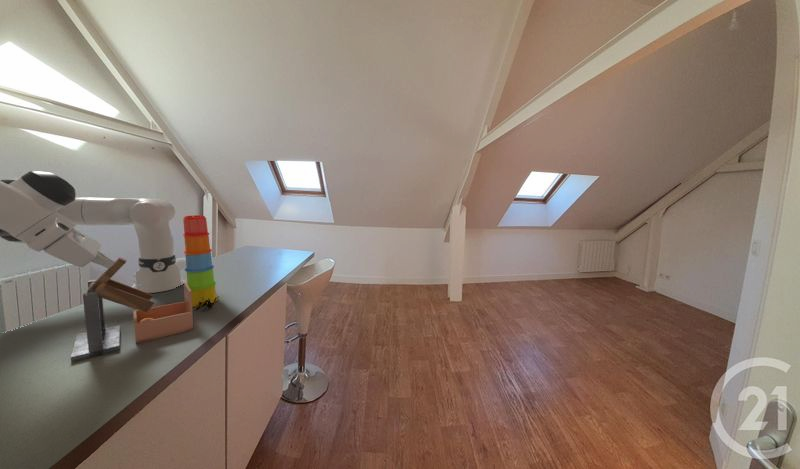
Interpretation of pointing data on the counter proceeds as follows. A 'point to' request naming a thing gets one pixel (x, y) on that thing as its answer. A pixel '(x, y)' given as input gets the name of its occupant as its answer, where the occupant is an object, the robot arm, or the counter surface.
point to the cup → (165, 319)
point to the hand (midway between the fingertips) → (111, 265)
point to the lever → (120, 290)
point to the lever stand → (95, 331)
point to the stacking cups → (198, 260)
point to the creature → (209, 304)
